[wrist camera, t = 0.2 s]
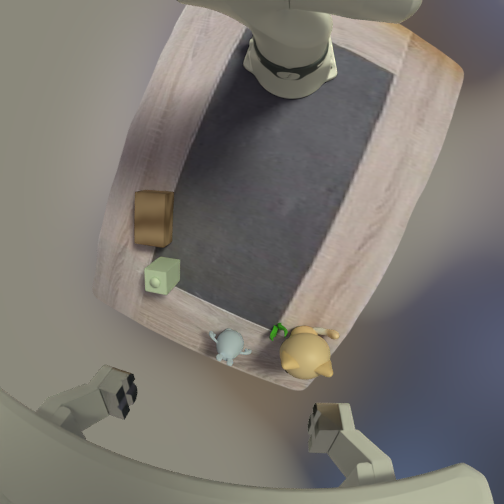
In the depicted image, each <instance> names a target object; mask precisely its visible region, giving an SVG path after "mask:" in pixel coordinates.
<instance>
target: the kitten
mask: <svg viewBox="0 0 504 504" xmlns="http://www.w3.org/2000/svg"><path fill="white" fill-rule="evenodd" d="M278 328H279V329H281V330H284V333H285V337H286V335H287V333H288V331H287V329H286V328H285V327H284V326H282V325H281V323H278V327H276V326H274V328H273V330H272V332H271V334H270V339H271V340H272V341H273V338H274V337H275V336H276V335H277V330H278ZM318 334H320V335H326V336H328V337H330V338H331V339H338V338H339V333H338V332H337V331H335V330H329V329H325V328H320V327H315V328H311V327H309V326H299V327H296V328H295V329H293V331H292V332H291V335H290V337H289V338H288V339H286V340H285V341H284V342H283V343H282V345H281V347H280V359H281V365H282V368H283V369H285V371H286V372H287V373H289V374H290V375H292V376H293V377H295V378H298V379H312V378H315V377H317V376H319V375H323V376H326V377H331V376H332V375H333V370H332V367H331V361H330V349H329V346H328V344H327V343H326V341H325V340H324V339H323V338H321V337H320V336H318ZM285 337H284V338H285Z"/></svg>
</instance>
